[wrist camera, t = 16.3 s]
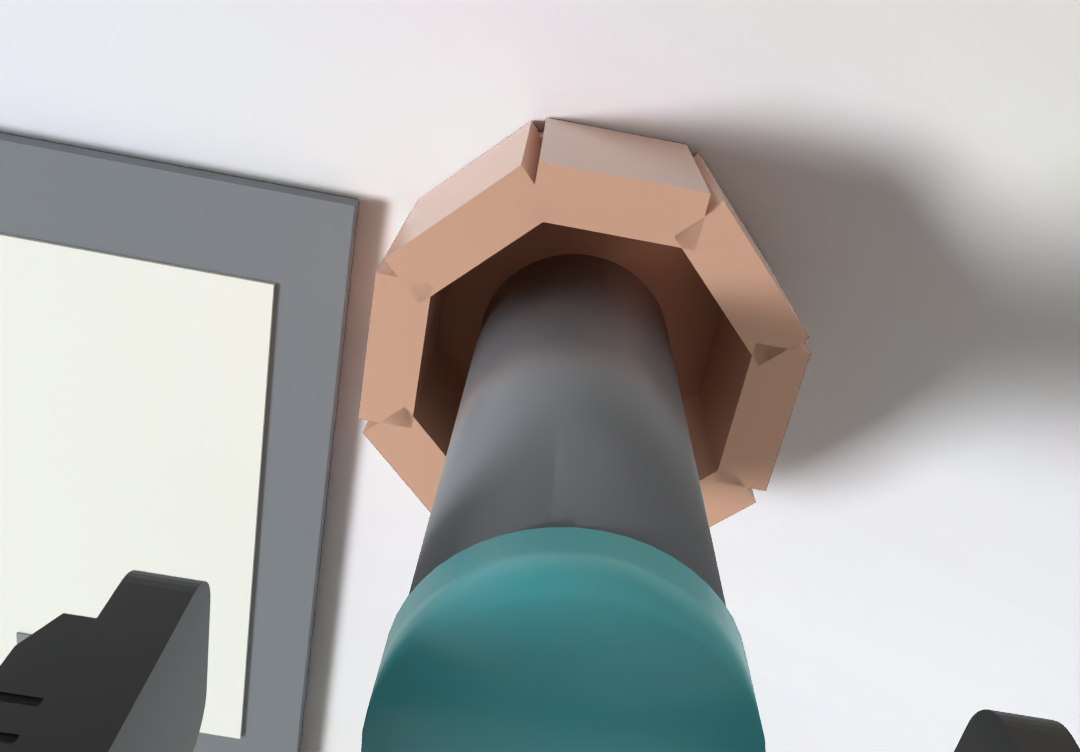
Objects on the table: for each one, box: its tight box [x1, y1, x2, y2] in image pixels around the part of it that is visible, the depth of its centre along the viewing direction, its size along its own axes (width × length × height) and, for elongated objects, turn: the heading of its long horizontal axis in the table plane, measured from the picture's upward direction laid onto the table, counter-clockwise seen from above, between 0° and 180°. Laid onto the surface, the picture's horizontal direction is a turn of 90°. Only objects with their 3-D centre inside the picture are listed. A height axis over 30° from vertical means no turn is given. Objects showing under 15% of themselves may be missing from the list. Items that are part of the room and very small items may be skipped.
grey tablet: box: [0, 133, 359, 752], centre depth 24 cm, size 17×13×1 cm
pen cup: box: [358, 118, 811, 527], centre depth 20 cm, size 8×8×4 cm
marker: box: [361, 254, 765, 752], centre depth 16 cm, size 4×4×12 cm
